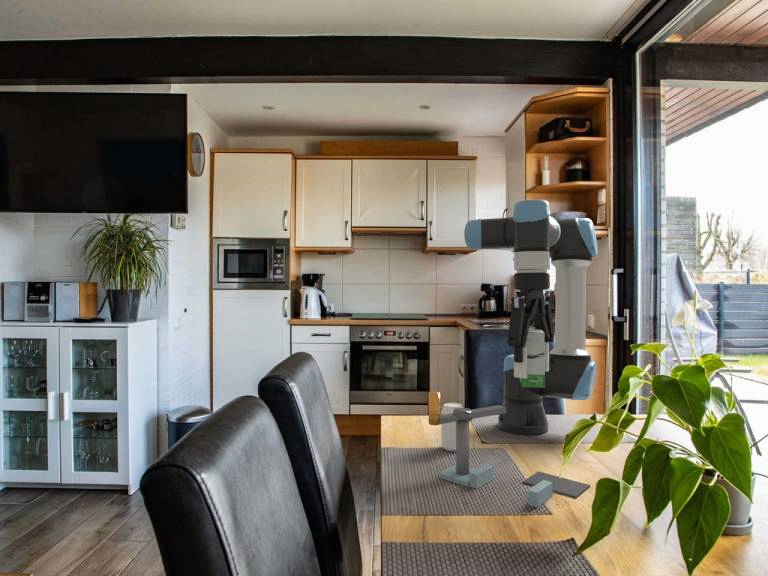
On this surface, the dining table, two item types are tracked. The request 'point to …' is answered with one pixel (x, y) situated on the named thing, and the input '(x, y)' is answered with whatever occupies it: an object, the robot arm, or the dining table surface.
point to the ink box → (535, 359)
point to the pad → (559, 484)
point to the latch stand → (484, 470)
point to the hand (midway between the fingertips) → (532, 373)
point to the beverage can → (449, 428)
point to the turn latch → (458, 411)
